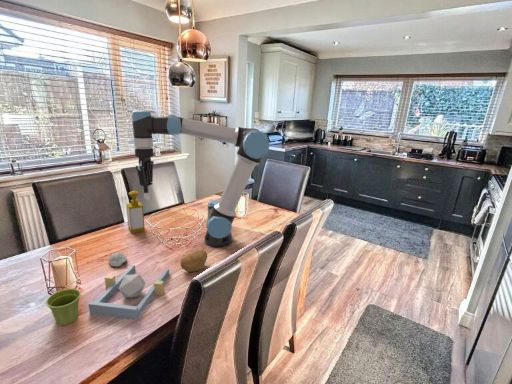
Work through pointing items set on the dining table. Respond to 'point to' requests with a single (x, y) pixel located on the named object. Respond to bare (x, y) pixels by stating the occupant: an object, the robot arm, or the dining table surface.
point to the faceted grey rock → (132, 285)
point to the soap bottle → (135, 214)
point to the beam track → (124, 310)
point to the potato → (194, 261)
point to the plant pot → (64, 305)
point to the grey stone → (117, 259)
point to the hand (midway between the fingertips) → (147, 198)
